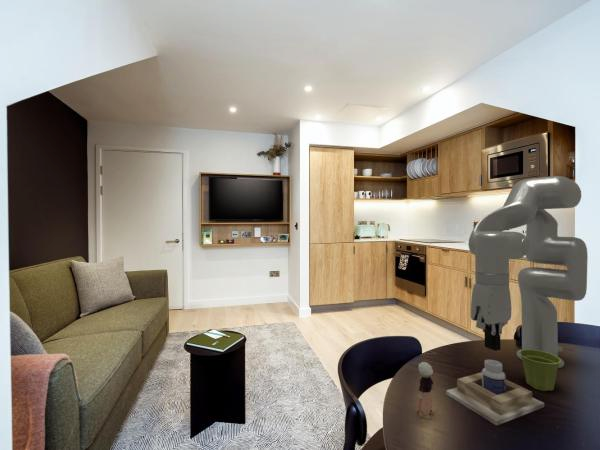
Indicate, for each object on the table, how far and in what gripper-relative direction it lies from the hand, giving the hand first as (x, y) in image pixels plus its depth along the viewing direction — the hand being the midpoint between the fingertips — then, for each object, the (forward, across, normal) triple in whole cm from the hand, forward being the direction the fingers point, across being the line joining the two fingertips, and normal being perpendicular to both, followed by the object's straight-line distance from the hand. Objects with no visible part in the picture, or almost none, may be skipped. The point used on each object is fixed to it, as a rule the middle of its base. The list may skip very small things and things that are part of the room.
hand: (492, 348), depth 79 cm
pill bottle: (+13, 0, 0) cm, 13 cm away
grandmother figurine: (+14, +21, -3) cm, 25 cm away
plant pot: (+14, -19, 0) cm, 24 cm away
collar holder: (+14, 0, 0) cm, 14 cm away
